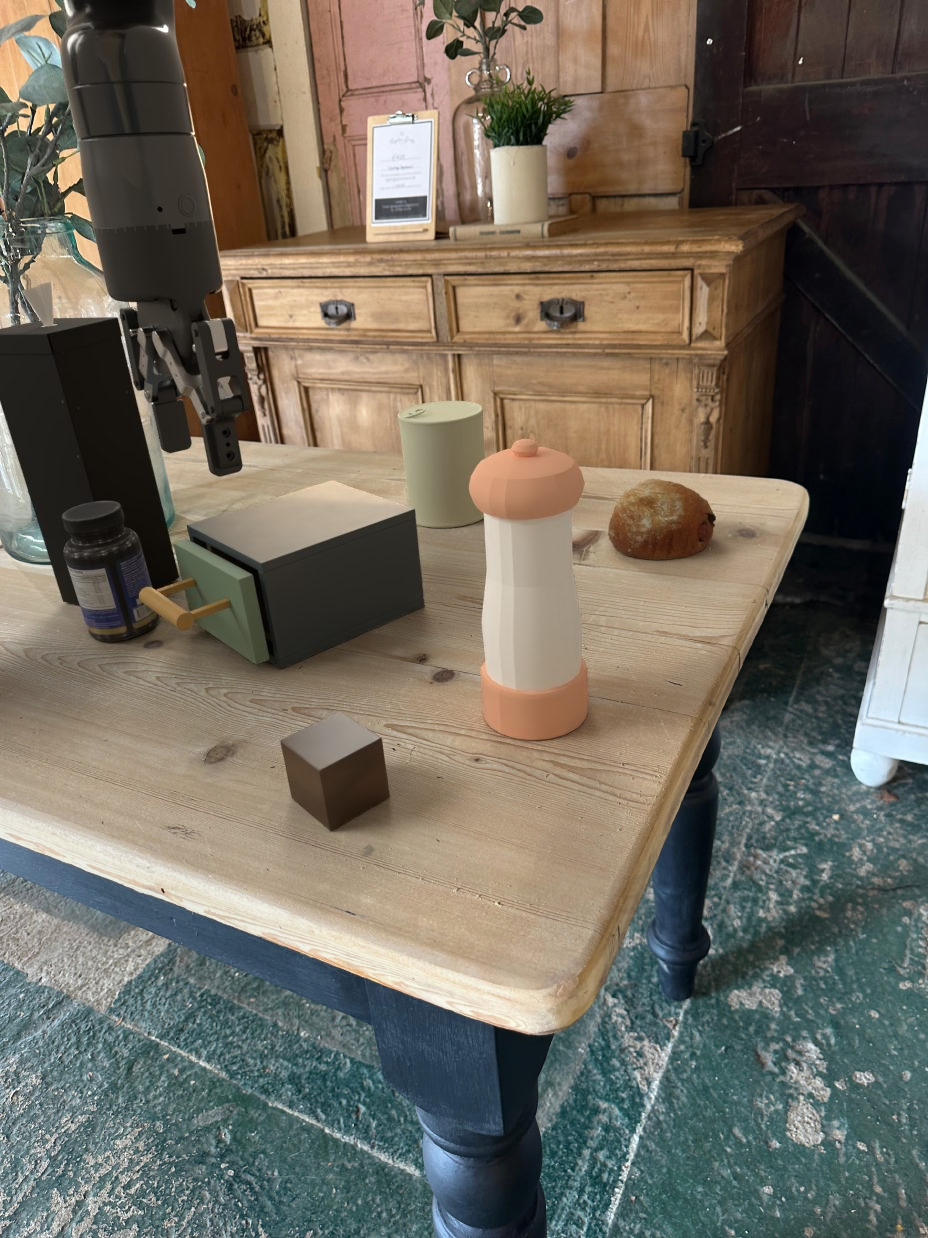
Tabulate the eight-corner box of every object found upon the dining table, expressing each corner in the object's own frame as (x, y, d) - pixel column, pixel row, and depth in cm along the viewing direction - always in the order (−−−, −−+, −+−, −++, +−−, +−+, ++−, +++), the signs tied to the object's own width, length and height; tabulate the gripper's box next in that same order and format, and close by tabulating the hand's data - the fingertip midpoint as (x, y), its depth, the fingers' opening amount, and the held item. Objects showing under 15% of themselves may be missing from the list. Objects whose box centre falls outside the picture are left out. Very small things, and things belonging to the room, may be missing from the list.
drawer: (203, 688, 64) (181, 600, 61) (141, 639, 72) (119, 559, 69) (394, 606, 74) (385, 526, 71) (322, 571, 82) (310, 498, 79)
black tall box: (61, 603, 82) (-37, 291, 69) (120, 570, 88) (40, 278, 75) (125, 613, 79) (34, 288, 66) (181, 578, 85) (108, 275, 72)
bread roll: (626, 554, 92) (593, 489, 89) (719, 515, 88) (688, 446, 85) (625, 594, 83) (589, 524, 80) (728, 553, 79) (694, 478, 77)
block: (330, 832, 50) (319, 771, 48) (291, 798, 53) (279, 739, 51) (390, 797, 53) (382, 737, 51) (349, 767, 56) (340, 709, 54)
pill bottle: (148, 605, 80) (118, 492, 75) (170, 627, 76) (140, 508, 71) (80, 627, 77) (44, 510, 72) (99, 651, 73) (62, 529, 68)
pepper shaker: (487, 682, 64) (470, 426, 55) (587, 682, 63) (585, 422, 54) (478, 740, 57) (456, 460, 49) (588, 741, 56) (587, 456, 48)
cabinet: (281, 669, 68) (260, 563, 64) (208, 620, 76) (186, 524, 72) (425, 606, 76) (415, 508, 72) (344, 568, 85) (331, 479, 80)
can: (396, 509, 99) (385, 404, 93) (470, 494, 102) (463, 391, 96) (424, 534, 91) (413, 422, 86) (503, 517, 94) (497, 407, 89)
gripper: (59, 222, 59) (116, 454, 66) (137, 222, 49) (194, 495, 56) (165, 214, 63) (207, 434, 70) (257, 213, 53) (294, 469, 60)
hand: (201, 461), depth 63 cm, fingers open, 8 cm apart
